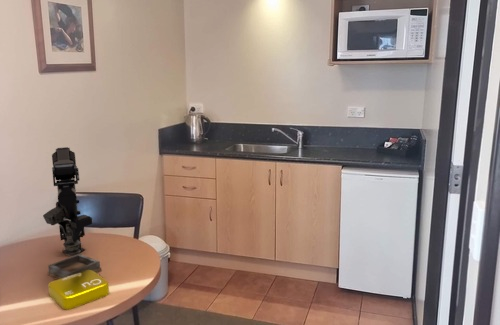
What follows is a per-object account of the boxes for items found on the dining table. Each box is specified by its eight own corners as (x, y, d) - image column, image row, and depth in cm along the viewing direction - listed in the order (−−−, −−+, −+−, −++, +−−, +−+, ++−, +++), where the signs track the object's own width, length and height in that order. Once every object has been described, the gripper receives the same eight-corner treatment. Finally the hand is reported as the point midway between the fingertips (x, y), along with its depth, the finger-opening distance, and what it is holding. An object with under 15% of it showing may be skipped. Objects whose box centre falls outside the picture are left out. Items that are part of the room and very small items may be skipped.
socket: (48, 275, 158) (47, 265, 158) (80, 262, 169) (79, 253, 168) (69, 284, 151) (68, 274, 150) (101, 270, 161) (100, 261, 160)
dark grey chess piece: (76, 247, 162) (73, 216, 160) (85, 251, 159) (81, 219, 156) (61, 252, 158) (57, 220, 155) (69, 257, 154) (66, 224, 152)
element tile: (91, 279, 155) (90, 267, 154) (111, 295, 145) (110, 281, 144) (47, 294, 145) (46, 281, 144) (65, 312, 135) (64, 298, 134)
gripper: (30, 199, 153) (35, 242, 156) (61, 209, 142) (66, 254, 146) (60, 192, 162) (64, 232, 165) (91, 200, 151) (95, 243, 154)
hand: (71, 240), depth 157 cm, fingers closed on dark grey chess piece, 3 cm apart
